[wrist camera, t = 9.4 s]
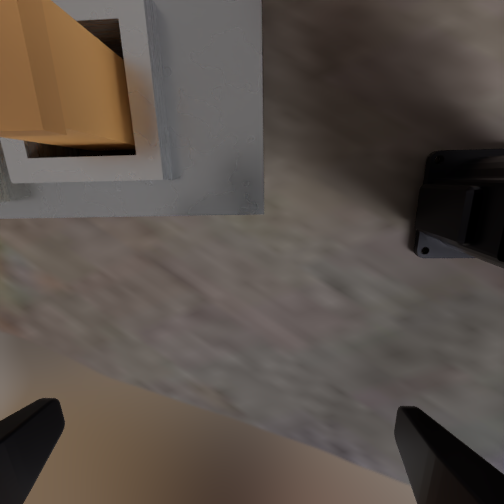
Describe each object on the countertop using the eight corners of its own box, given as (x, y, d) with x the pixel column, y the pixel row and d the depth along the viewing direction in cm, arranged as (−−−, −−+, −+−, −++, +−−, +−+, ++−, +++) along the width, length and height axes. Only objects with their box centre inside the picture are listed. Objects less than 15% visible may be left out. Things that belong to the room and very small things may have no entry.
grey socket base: (261, -18, 14) (259, -103, 10) (264, 209, 17) (263, 219, 13) (-54, 3, 15) (-181, -67, 11) (3, 213, 18) (-78, 224, 14)
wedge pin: (148, 71, 16) (3, -61, 7) (157, 154, 17) (43, 130, 8) (73, 74, 16) (-157, -50, 7) (87, 155, 17) (-95, 133, 8)
